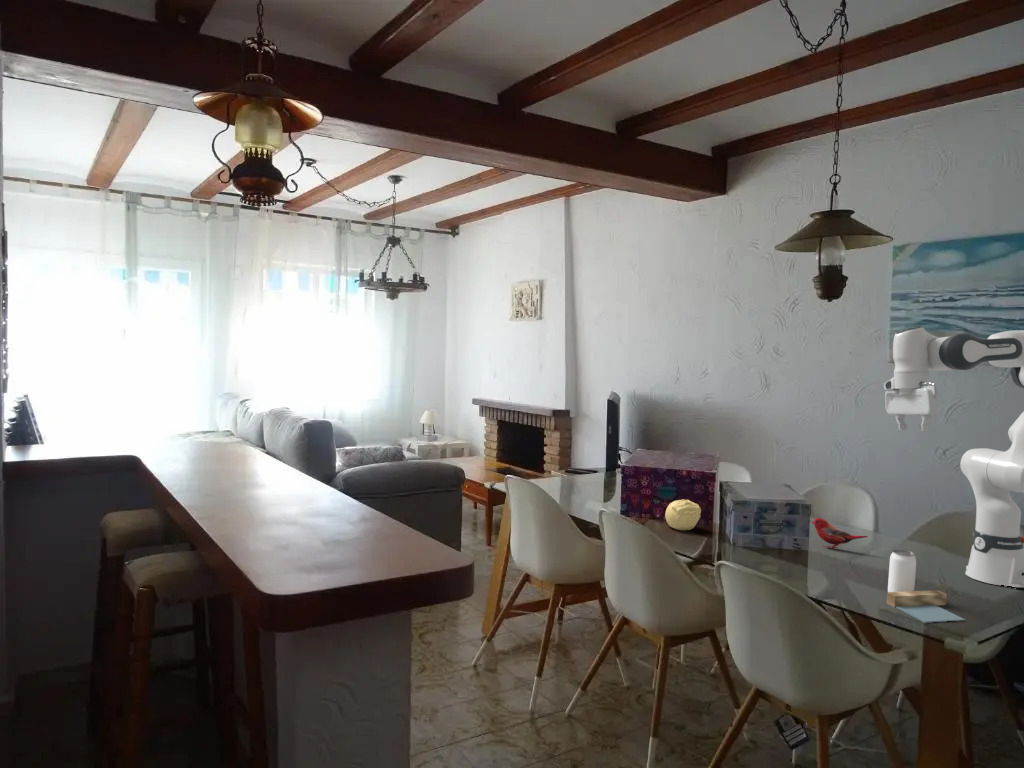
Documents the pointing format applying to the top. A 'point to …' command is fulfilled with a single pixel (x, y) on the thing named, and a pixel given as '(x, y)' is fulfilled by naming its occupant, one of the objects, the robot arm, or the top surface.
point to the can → (902, 571)
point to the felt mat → (929, 613)
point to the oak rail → (916, 598)
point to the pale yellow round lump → (682, 514)
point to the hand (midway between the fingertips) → (913, 430)
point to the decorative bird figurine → (832, 533)
